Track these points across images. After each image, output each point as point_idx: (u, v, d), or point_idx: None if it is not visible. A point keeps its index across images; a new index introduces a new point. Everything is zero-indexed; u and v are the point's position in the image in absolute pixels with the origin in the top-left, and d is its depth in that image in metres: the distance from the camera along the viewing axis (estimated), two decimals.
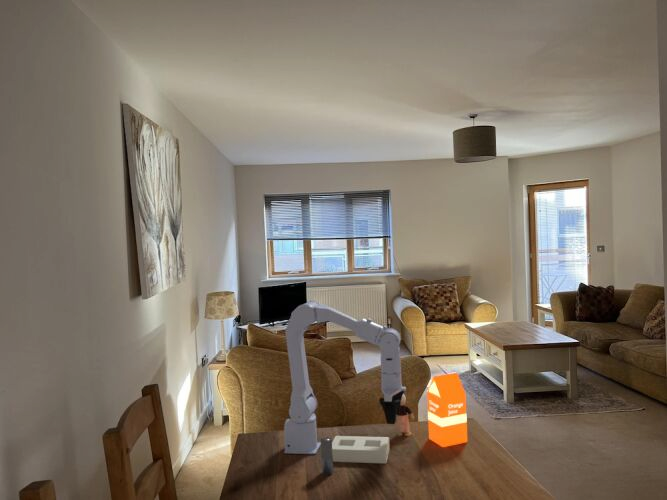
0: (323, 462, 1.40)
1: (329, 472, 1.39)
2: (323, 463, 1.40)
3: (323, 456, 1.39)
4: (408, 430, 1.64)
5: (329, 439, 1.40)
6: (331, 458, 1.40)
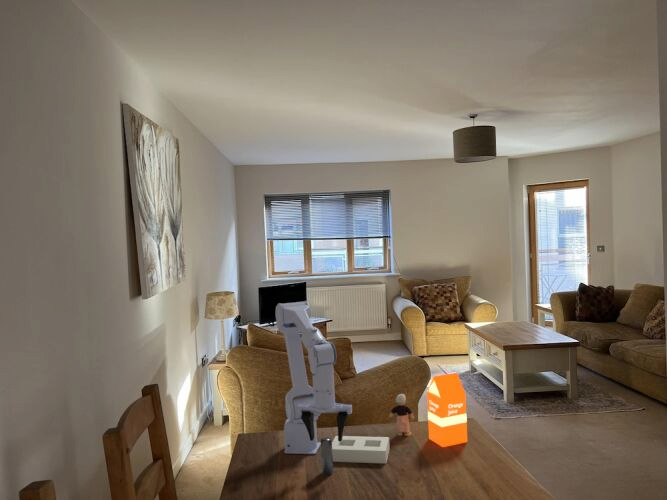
0: (323, 462, 1.40)
1: (329, 472, 1.39)
2: (323, 463, 1.40)
3: (323, 456, 1.39)
4: (408, 430, 1.64)
5: (329, 439, 1.40)
6: (331, 458, 1.40)
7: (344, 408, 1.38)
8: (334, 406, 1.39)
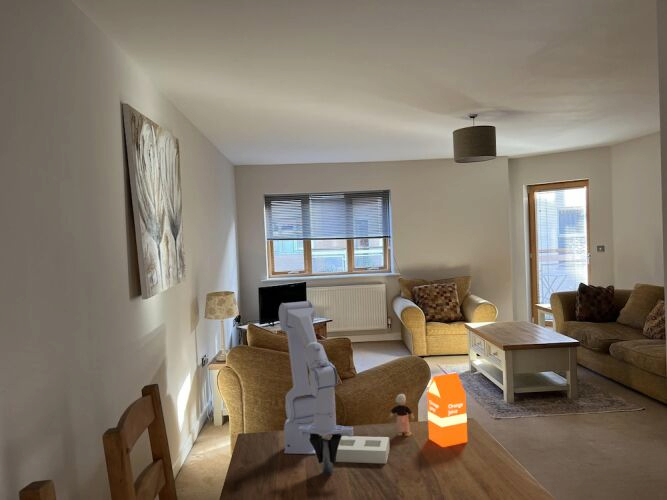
0: (323, 462, 1.40)
1: (329, 472, 1.39)
2: (323, 463, 1.40)
3: (323, 456, 1.39)
4: (408, 430, 1.64)
5: (329, 439, 1.40)
6: (331, 458, 1.40)
7: (345, 431, 1.38)
8: (335, 429, 1.39)
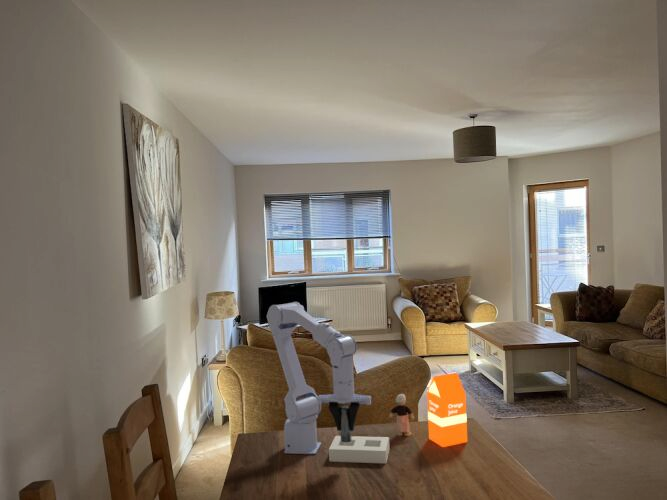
0: (341, 430, 1.43)
1: (347, 439, 1.43)
2: (341, 430, 1.43)
3: (341, 424, 1.43)
4: (408, 430, 1.64)
5: (347, 407, 1.44)
6: (349, 426, 1.43)
7: (363, 399, 1.42)
8: (353, 397, 1.43)
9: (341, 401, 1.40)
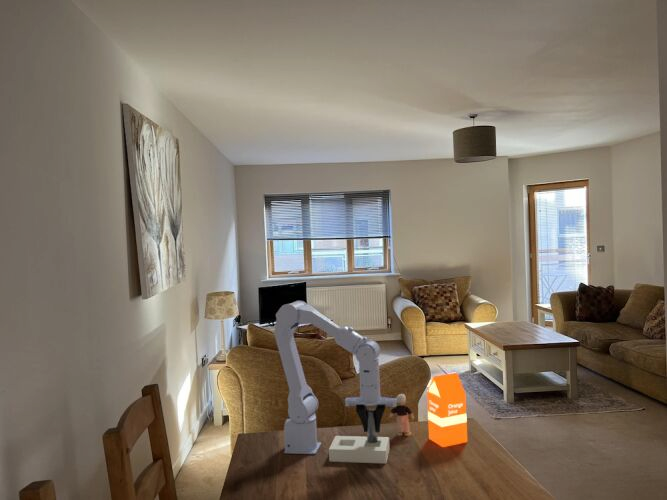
0: (368, 431, 1.49)
1: (374, 441, 1.49)
2: (368, 432, 1.49)
3: (368, 425, 1.49)
4: (408, 430, 1.64)
5: (374, 410, 1.50)
6: (375, 428, 1.49)
7: (389, 401, 1.48)
8: (380, 399, 1.49)
9: (368, 404, 1.46)
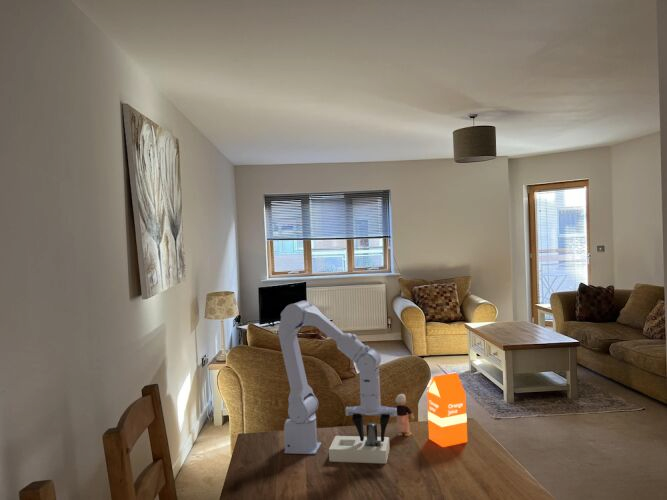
0: None
1: None
2: None
3: (368, 440, 1.49)
4: (408, 430, 1.64)
5: (374, 424, 1.50)
6: (376, 442, 1.49)
7: (390, 411, 1.48)
8: (380, 409, 1.49)
9: (369, 413, 1.46)
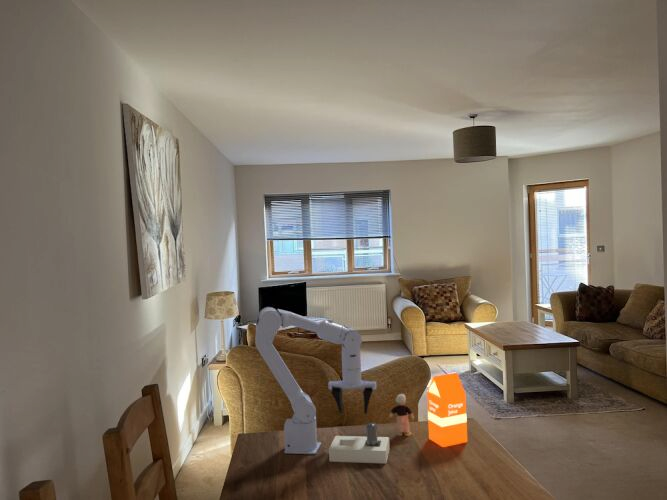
0: None
1: None
2: None
3: (368, 440, 1.49)
4: (408, 430, 1.64)
5: (374, 424, 1.50)
6: (376, 442, 1.49)
7: (370, 384, 1.58)
8: (361, 383, 1.59)
9: (350, 386, 1.56)
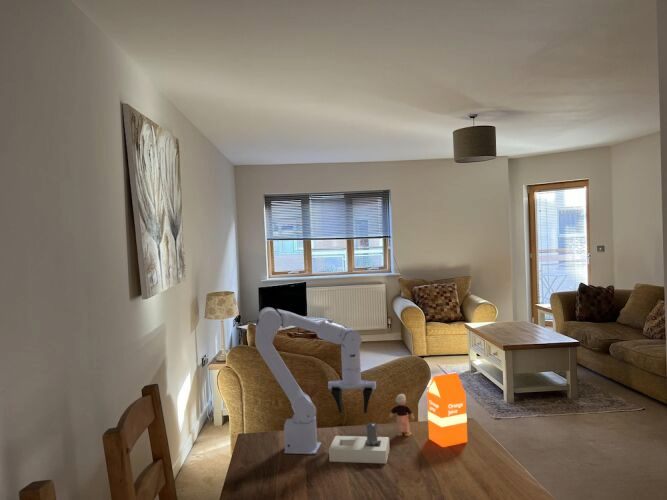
0: None
1: None
2: None
3: (369, 440, 1.49)
4: (408, 430, 1.64)
5: (374, 424, 1.50)
6: (376, 442, 1.49)
7: (369, 384, 1.58)
8: (360, 382, 1.59)
9: (349, 386, 1.56)
